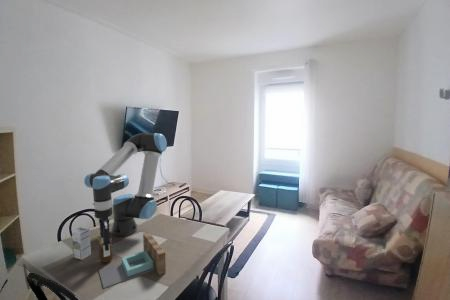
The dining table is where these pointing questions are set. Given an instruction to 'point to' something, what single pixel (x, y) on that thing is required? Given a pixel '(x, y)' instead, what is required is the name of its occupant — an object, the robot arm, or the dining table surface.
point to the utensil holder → (101, 253)
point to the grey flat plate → (119, 273)
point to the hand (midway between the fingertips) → (105, 252)
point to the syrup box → (81, 243)
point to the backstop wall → (155, 253)
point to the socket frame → (138, 268)
